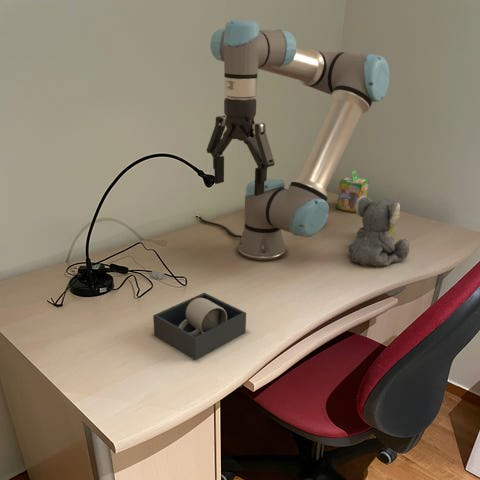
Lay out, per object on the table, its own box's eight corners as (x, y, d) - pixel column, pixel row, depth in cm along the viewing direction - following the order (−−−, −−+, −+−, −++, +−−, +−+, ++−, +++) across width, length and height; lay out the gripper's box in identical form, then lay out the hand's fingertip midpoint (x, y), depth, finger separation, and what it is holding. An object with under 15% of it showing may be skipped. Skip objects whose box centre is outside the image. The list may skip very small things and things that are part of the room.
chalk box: (357, 213, 203) (363, 175, 196) (336, 209, 207) (340, 172, 200) (365, 207, 210) (371, 170, 203) (344, 203, 214) (349, 167, 207)
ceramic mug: (208, 317, 130) (208, 290, 126) (227, 331, 124) (227, 303, 120) (171, 331, 124) (170, 303, 120) (190, 346, 118) (189, 317, 114)
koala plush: (411, 259, 166) (423, 199, 156) (379, 275, 155) (390, 212, 145) (365, 243, 177) (375, 186, 167) (333, 257, 166) (341, 197, 156)
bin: (154, 335, 123) (153, 315, 120) (204, 311, 133) (204, 292, 131) (195, 360, 115) (195, 339, 112) (245, 332, 125) (246, 312, 122)
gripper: (191, 93, 124) (193, 181, 135) (271, 106, 110) (267, 203, 121) (213, 90, 129) (214, 175, 140) (293, 102, 115) (286, 196, 126)
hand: (238, 188), depth 130 cm, fingers open, 13 cm apart
